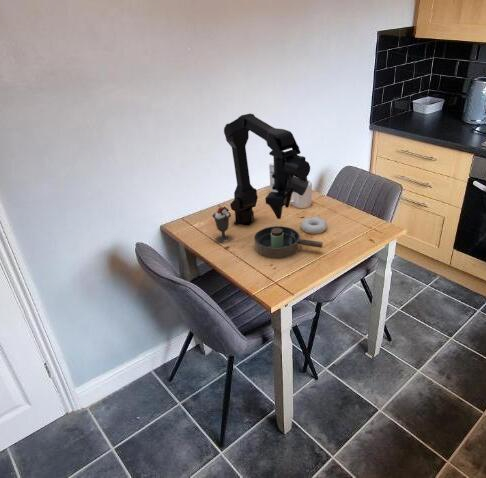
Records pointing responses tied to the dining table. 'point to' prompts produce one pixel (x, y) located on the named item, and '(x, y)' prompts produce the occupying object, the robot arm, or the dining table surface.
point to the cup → (303, 197)
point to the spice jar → (277, 238)
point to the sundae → (222, 222)
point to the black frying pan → (289, 249)
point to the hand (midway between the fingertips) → (283, 212)
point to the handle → (311, 243)
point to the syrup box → (271, 169)
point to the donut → (313, 225)
